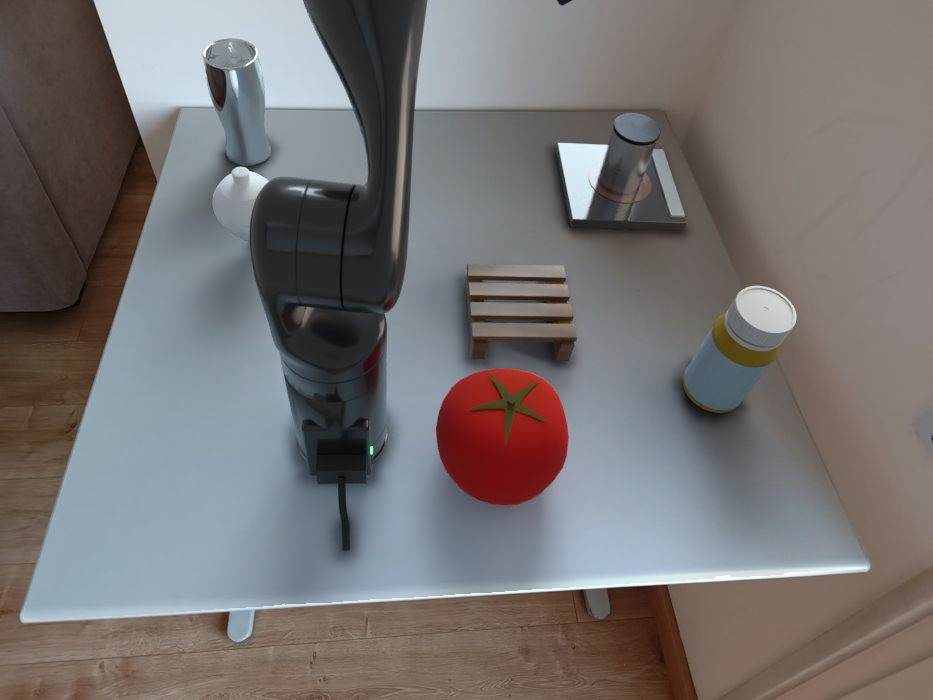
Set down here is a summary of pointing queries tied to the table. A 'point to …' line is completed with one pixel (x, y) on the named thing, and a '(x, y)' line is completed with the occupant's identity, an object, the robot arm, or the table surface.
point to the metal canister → (628, 153)
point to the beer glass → (238, 98)
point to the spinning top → (237, 200)
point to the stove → (606, 209)
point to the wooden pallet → (519, 307)
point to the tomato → (502, 435)
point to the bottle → (739, 349)
